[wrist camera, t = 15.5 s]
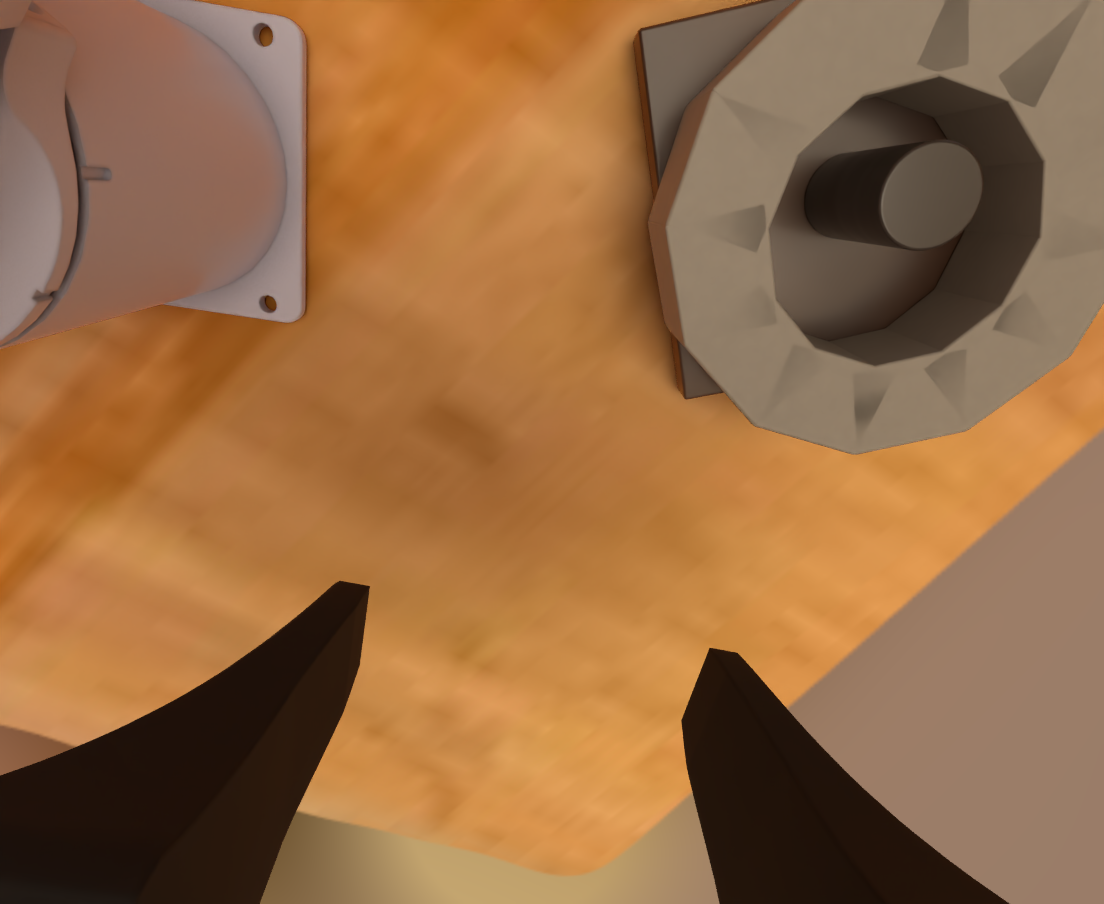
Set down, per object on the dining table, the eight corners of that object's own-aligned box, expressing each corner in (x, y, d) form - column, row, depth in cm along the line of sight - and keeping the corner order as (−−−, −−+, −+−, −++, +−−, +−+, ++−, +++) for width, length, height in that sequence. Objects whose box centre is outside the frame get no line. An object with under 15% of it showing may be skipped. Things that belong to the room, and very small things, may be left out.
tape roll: (572, 219, 17) (576, 224, 15) (918, -127, 15) (1004, -203, 12) (801, 479, 20) (839, 524, 18) (1124, 235, 18) (1232, 242, 15)
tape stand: (677, 389, 21) (718, 453, 16) (632, 39, 17) (667, -29, 12) (991, 330, 20) (1143, 376, 15) (1016, -50, 16) (1231, -164, 11)
